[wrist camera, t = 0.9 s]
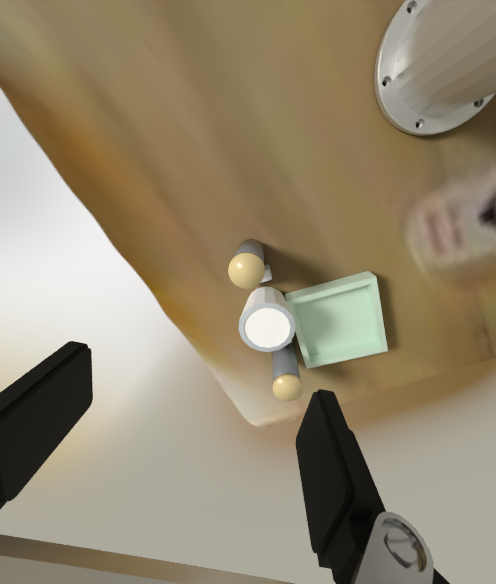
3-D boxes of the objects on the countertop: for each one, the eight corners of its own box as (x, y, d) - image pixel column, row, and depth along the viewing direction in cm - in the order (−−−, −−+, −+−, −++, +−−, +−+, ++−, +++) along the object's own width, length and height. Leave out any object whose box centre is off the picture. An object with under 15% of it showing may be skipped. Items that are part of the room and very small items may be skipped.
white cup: (297, 313, 36) (305, 339, 29) (256, 331, 37) (254, 360, 31) (277, 274, 34) (280, 293, 27) (234, 294, 35) (227, 317, 29)
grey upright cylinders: (260, 234, 32) (258, 248, 24) (297, 354, 38) (306, 397, 30) (233, 243, 33) (223, 260, 24) (274, 359, 39) (277, 403, 31)
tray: (368, 270, 33) (376, 276, 30) (380, 341, 37) (387, 351, 34) (284, 293, 35) (286, 301, 32) (304, 358, 39) (306, 368, 36)
